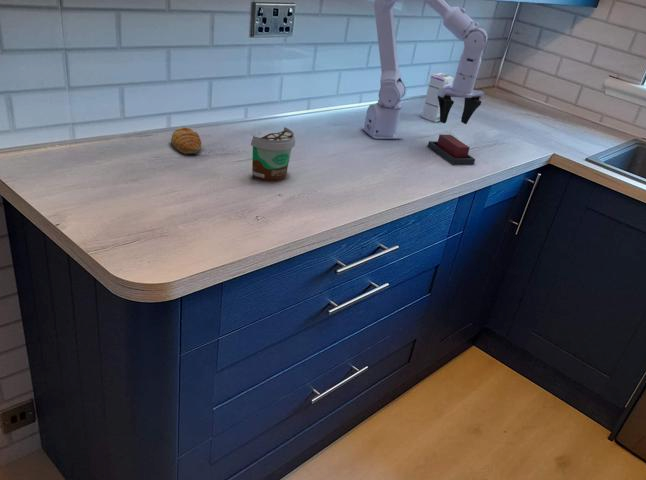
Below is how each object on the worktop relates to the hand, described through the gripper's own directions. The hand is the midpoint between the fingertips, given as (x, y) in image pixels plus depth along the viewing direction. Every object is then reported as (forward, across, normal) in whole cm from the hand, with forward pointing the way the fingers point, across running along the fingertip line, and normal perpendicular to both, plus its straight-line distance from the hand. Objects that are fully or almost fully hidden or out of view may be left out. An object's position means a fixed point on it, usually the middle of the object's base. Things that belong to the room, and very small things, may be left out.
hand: (453, 122), depth 172 cm
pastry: (+9, -76, +1) cm, 76 cm away
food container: (+9, -60, -17) cm, 62 cm away
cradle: (+8, -1, -4) cm, 9 cm away
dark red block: (+8, 0, -4) cm, 9 cm away
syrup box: (+9, +13, +29) cm, 33 cm away
